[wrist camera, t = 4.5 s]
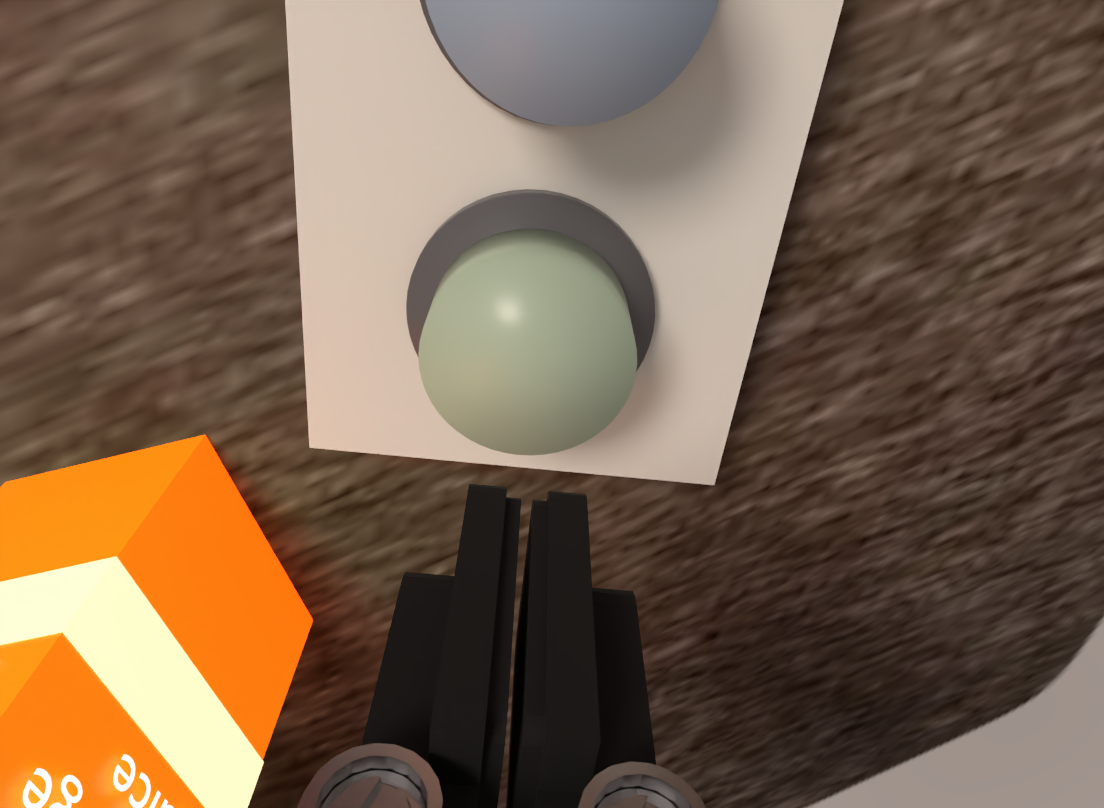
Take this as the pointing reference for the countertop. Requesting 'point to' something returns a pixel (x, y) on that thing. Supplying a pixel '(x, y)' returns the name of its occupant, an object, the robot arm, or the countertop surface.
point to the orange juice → (139, 635)
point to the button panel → (542, 220)
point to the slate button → (571, 52)
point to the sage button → (528, 343)
